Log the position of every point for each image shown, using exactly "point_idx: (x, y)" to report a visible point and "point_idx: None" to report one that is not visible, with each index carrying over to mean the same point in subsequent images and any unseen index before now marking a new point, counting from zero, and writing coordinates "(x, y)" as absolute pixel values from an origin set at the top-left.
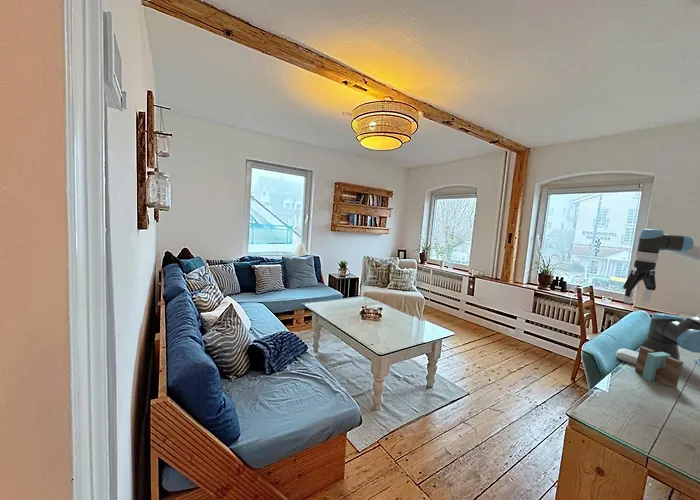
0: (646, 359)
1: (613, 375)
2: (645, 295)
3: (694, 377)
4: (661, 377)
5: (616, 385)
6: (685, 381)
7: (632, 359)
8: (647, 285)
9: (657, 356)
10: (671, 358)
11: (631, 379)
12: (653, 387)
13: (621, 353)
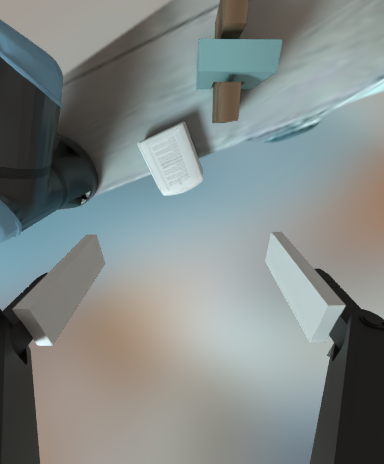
0: (268, 77)
1: (311, 114)
2: (80, 283)
3: (90, 56)
4: None
5: (367, 72)
6: (146, 44)
7: (195, 150)
8: (21, 383)
9: (274, 39)
10: (237, 9)
11: (290, 88)
12: (282, 39)
13: (200, 174)
